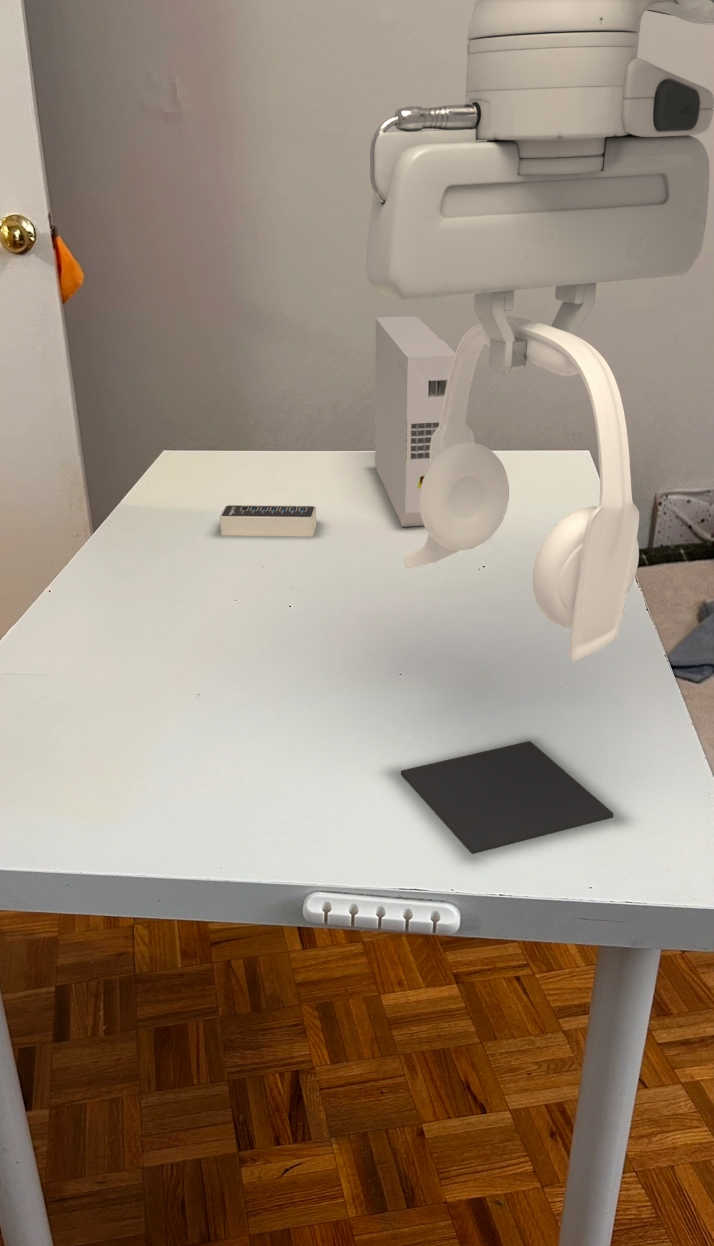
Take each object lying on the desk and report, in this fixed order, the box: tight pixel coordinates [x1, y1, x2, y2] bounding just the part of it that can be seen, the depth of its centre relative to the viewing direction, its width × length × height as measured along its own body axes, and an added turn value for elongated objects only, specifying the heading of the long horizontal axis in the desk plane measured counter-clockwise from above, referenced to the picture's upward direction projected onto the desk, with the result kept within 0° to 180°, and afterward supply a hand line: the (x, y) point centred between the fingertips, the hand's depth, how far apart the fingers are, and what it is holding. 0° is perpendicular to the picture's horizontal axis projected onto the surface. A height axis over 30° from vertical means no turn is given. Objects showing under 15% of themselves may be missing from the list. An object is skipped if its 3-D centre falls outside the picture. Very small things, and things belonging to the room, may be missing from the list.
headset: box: [403, 315, 640, 663], centre depth 69 cm, size 20×7×18 cm, turn 21°
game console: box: [374, 315, 456, 528], centre depth 136 cm, size 6×27×20 cm, turn 4°
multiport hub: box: [219, 504, 318, 537], centre depth 131 cm, size 4×11×2 cm, turn 84°
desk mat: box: [400, 740, 614, 855], centre depth 79 cm, size 11×11×1 cm
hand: (530, 367), depth 66 cm, fingers closed on headset
